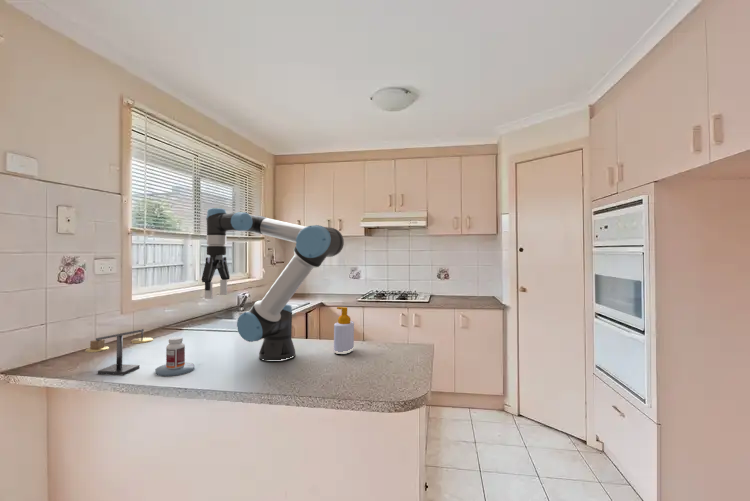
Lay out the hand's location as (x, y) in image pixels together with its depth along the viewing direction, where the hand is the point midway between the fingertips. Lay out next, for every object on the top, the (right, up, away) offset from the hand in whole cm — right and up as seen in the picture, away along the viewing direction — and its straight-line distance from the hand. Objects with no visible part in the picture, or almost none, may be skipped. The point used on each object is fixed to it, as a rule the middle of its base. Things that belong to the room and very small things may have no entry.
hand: (216, 296), depth 154 cm
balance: (-30, -26, -16) cm, 42 cm away
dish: (-9, -26, -14) cm, 31 cm away
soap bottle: (+52, -27, +15) cm, 61 cm away
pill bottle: (-9, -25, -14) cm, 30 cm away
